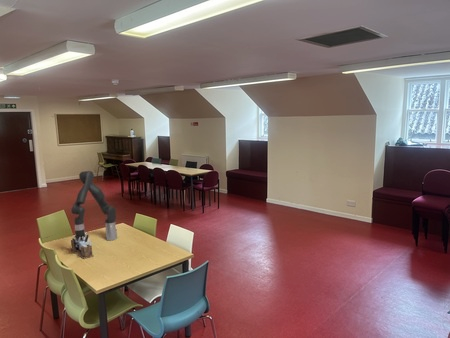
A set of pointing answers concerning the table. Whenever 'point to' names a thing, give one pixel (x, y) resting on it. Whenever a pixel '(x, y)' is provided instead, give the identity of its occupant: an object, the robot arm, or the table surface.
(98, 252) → the table surface
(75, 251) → the brown wooden block
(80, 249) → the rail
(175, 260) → the table surface
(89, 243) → the decorative molding
